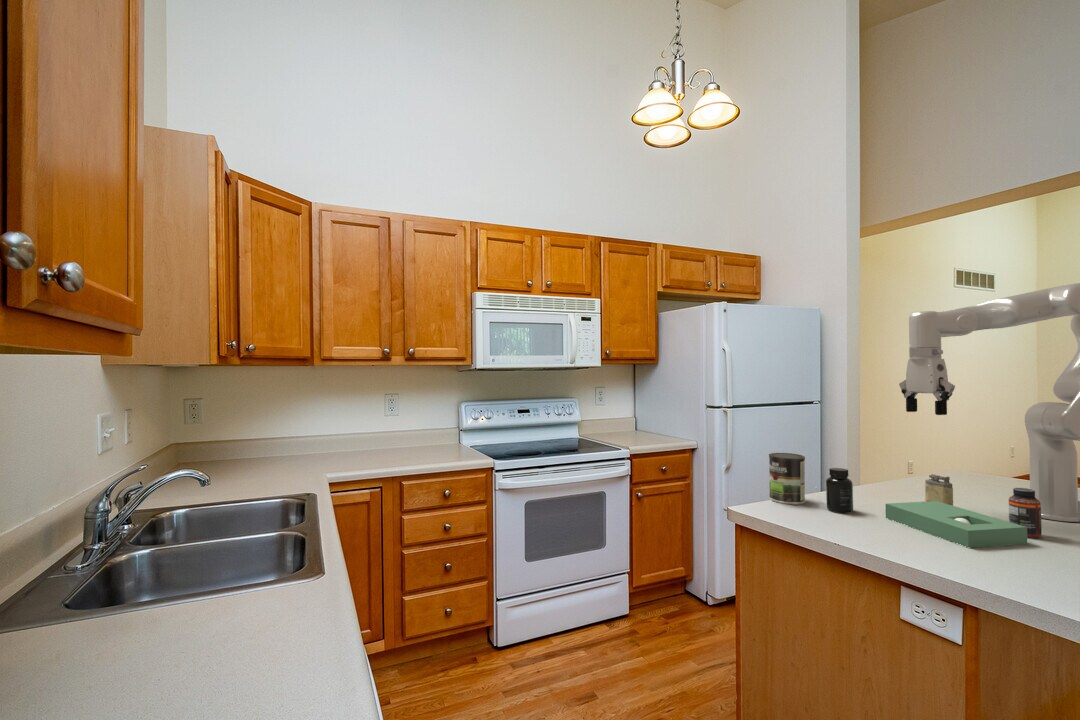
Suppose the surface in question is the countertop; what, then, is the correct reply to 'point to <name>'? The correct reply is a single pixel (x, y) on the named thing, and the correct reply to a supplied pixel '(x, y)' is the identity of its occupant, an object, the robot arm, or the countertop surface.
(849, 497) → the supplement bottle
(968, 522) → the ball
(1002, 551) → the countertop surface
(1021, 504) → the supplement bottle
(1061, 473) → the robot arm
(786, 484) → the coffee can
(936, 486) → the lighter
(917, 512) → the putting board
